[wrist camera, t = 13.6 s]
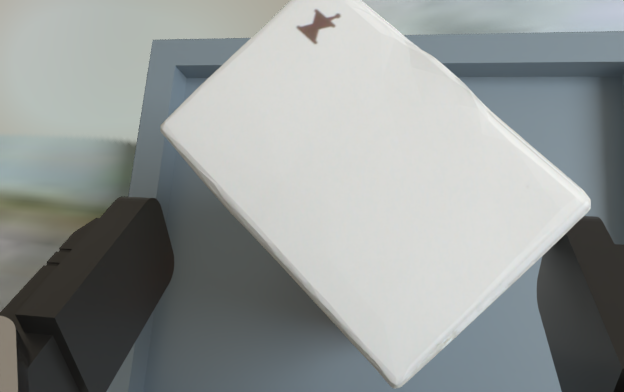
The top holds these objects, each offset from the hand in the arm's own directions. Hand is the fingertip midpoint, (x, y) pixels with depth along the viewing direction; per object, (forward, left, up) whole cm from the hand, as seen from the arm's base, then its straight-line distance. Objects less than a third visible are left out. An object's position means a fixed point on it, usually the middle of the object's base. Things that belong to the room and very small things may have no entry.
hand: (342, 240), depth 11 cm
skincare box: (0, +1, -9) cm, 9 cm away
